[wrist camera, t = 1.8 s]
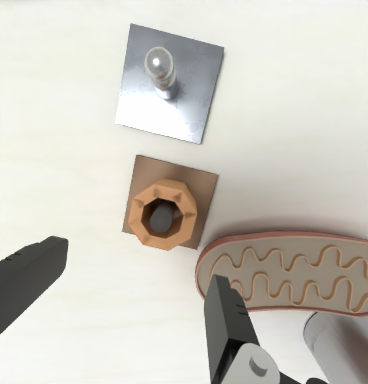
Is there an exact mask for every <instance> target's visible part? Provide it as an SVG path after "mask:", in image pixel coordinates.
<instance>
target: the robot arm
mask: <svg viewBox="0 0 368 384" xmlns="http://www.w3.org/2000/svg"><path fill="white" fill-rule="evenodd" d="M67 251H68V240H67V239H65V238H60V237H56V236H50V237H48V238H47V239H45V240H43V241H42V242H40V243H35V244H32V245H28V246H25V247H23V248H22V249H20V250H18V251H17V252H15V253H14V254H11V255H10V256H8V257H6V258H5V260H4V259H3V260H1V261H0V334H1V333H2V332H3V331H4V330H5V329H6V328H7V327H8V326H9V325H10V324H12V323H13V322H14V321H15V320H16V319H17V318H18V317H19V316H20V315H21V314H22V313H23V312H24V311H25V310H26V309H27V308H28V307H29V306H30V305H31V304H32V303H33V302H34V301H35V300H36V299H37V298H38V297H39V296H40V295H41V294H42V293H43V292H44V291H45V290H46V289H48V288H49V287H50V286H51V285H52V284H53V283H54V282H55V281H56V280H57V279H58V278H59V277H60V276H61V274H62V273H63V271H64V269H65V266H66V260H67ZM204 315H205V326H206V337H207V348H208V358H209V369H210V380H211V384H301V383H299V382H297V381H295V380H293V379H292V378H290V377H288V376H286V375H285V374H283V373H281V372H280V371H279V369H278V367H277V365H276V363H275V361H274V360H273V358H272V357H271V356H270V355H269V354H268V353H267V352H266V351H265V350H264V349H263V348H261V347H260V344H259V342H258V339H257V336H256V333H255V331H254V328H253V325H252V322H251V320H250V317H249V316H248V315H249V314H248V311H247V309H246V306H245V303H244V300H243V298H242V296H241V295H240V294H239V292H238V291H237V290H236V289H233V288H231V286H230V283H229V280H228V277H225V276H221V275H217V274H213V276H212V278H211V281H210V284H209V288H208V291H207V294H206V297H205V302H204ZM304 339H305V342H306V344H307V346H308V348H309V349H310V351H311V353H312V354H313V356H314V358H315V359H316V361H317V363H318V364H319V366H320V368H321V369H322V371H323V373H324V374H325V376H326V378H327V379H328V381H329V383H330V384H368V317H362V318H356V317H349V316H343V315H337V314H330V313H323V312H318V313H316V314H315V315H314V316H313V317H312V318H311V319H310V320H309V321H308V323H307V324H306V327H305V330H304ZM306 384H328V383H326V382H325V381H323V380H321V379H318V378H310V379H308V380H307V382H306Z"/></svg>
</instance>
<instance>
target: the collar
mask: <svg viewBox="0 0 368 384" xmlns="http://www.w3.org/2000/svg"><path fill="white" fill-rule="evenodd" d="M156 198H162V199H166V200H170V201H174V202H175V203H176V204H177V206H178V207H179V209H180V210H181V212H182V215H181V216H179V217H177V218H175V219H174V220H172V223H171V226H170V228H169V229H168V230H167V231H166V232H162V233H159V232H156V231H154V230H153V229H152V228H151V226H150V218H151V216H152V215H153V213H154V211H153V209H152V208H151V205H152V201H153V200H155V199H156ZM196 216H197V208H196V200H195V199H194V197H193V196H192V194H191V192H190V191H189V189H188V187H187V186H186V184H185V183H184V182H180V181H176V180H172V179H168V178H164V177H163V178H161V179H160V180H158V181H156V182H155V183H153V184H151V185H150V186H148V187H147V188H145V189H144V190H142V191H141V192H140V193H139V194H137V195H136V196H135V197H133V199H132V204H131V209H130V215H129V220H128V224H129V226H130V227H131V229H132V230H133V232H134V233H135V234H136V236H137V237H138V239H139V240H140V242H141V243H142V244H143V245H146V246H150V247H154V248H159V249H163V250H167V251H169V250H170V249H172V248H174V247H176V246H178V245H180V244H181V243H183V242H185V241H187V240H189V239H191V235H192V231H193V227H194V224H195V220H196Z"/></svg>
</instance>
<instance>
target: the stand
mask: <svg viewBox="0 0 368 384" xmlns="http://www.w3.org/2000/svg"><path fill="white" fill-rule="evenodd" d="M163 177H164V178H168V179H172V180H176V181H180V182H184V183H185V184H186V186H187V187H188V189H189V191H190V192H191V194H192V196H193V197H194V199H195V200H196V208H197V216H196V220H195V224H194V227H193V231H192V235H191V239H189V240H187V241H185V242H183V243H181V244H180V246H184V247H188V248H192V249H196V250H197V248H198V245H199V241H200V238H201V234H202V231H203V227H204V223H205V220H206V216H207V213H208V209H209V206H210V202H211V199H212V195H213V192H214V188H215V185H216V181H217V178H218V175H217V174H213V173H209V172H205V171H201V170H197V169H193V168H189V167H185V166H181V165H177V164H173V163H169V162H165V161H161V160H157V159H153V158H149V157H144V156H140V155H136V159H135V164H134V169H133V175H132V180H131V186H130V191H129V197H128V202H127V208H126V213H125V218H124V224H123V229H122V232H125V233H130V234H134V235H136V234H135V233H134V232H133V230H132V229H131V227H130V226H129V224H128V220H129V215H130V209H131V204H132V199H133V197H135V196H136V195H137V194H139V193H140V192H141V191H142V190H144V189H145V188H147V187H148V186H150V185H151V184H153V183H155V182H156V181H158V180H160V179H161V178H163ZM151 208H152V209H153V211H154V213H153V215H152V216H151V218H150V226H151V228H152V229H153V230H154V231H156V232H159V233H162V232H166V231H167V230H168V229H169V228H170V226H171V223H172V220H174V219H175V218H177V217H179V216H181V215H182V212H181V210H180V209H179V207H178V206H177V204H176V203H175V202H174V201H170V200H166V199H162V198H156V199H155V200H153V201H152V205H151Z"/></svg>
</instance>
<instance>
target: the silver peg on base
mask: <svg viewBox="0 0 368 384" xmlns="http://www.w3.org/2000/svg"><path fill="white" fill-rule="evenodd" d="M223 52H224V47H221V46H217V45H213V44H209V43H205V42H201V41H197V40H193V39H190V38H186V37H182V36H178V35H174V34H170V33H166V32H163V31H159V30H155V29H151V28H147V27H143V26H139V25H136V24H132V23H131V24H130V31H129V37H128V44H127V50H126V57H125V63H124V70H123V76H122V83H121V89H120V96H119V102H118V109H117V115H116V122H115V123H117V124H120V125H124V126H128V127H132V128H136V129H140V130H144V131H148V132H152V133H156V134H160V135H164V136H168V137H172V138H176V139H180V140H184V141H188V142H192V143H196V144H200V142H201V138H202V134H203V131H204V127H205V123H206V119H207V115H208V111H209V107H210V103H211V99H212V95H213V91H214V87H215V83H216V79H217V75H218V71H219V67H220V63H221V59H222V56H223Z"/></svg>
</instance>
